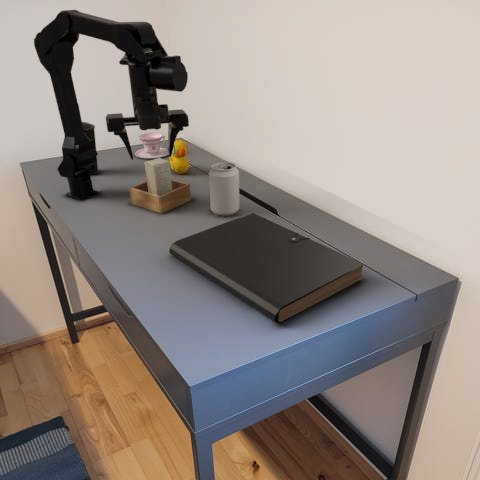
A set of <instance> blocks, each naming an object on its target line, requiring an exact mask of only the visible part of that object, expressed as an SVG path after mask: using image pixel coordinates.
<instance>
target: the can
mask: <svg viewBox="0 0 480 480" xmlns="http://www.w3.org/2000/svg"><path fill="white" fill-rule="evenodd" d="M210 167H211V169H210V170H209V171H208V182H209V183H208V184H209V206H210V211H211V212H213V213H214V214H215V215H217V216H223V217H227V216H232V215H234V214H236V213H237V212H238V211H239V210H240V171H239V169H237V165H236V163H233V162H229V161H220V162H215V163H213V164H211V166H210Z"/></svg>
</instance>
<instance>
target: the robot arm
mask: <svg viewBox="0 0 480 480" xmlns="http://www.w3.org/2000/svg"><path fill="white" fill-rule="evenodd" d="M80 35H82V36H87V37H90V38H93V39H97V40H100V41H105V42H108V43H111V44H112V45H114V47H115V48H116V49H117V50H119V51H121V52H123V53H124V55H123V56H122V58H121V59H119V61H118V63H119V65H121V66H122V65H123V66H127V69H128V77H129V85H130V92H131V99H132V100H131V102H132V109H133V116H126V117H124V115H123V113H121V112H119V113H107V114H106V116H105V122H106V123H105V124H106V130H107V133H113V135H114V136H119V138H120V139H121V141H122V143H123V144H124V146H125V148H126V151H127V153H128V155H129V157H130V159H131V161H133V160H134V154H133V150H132V146H131V143H130V140H129V139H130V138H129V135H128V132H127V128H126V127H133V126H135V127H136V126H138V128H139V130H140V131H147V130H156V131H157V130H161V128H162V125H163V124H167V149H168V151H169V155H168V156H169V158H170V157H171V155H172V151H173V147H174V143H175V141H176V140H177V137H178V135H179V132H181V131H184V128H187V127H189V126H190V121H189V114H188V113H186V111H185V110H184V109H169V106H168V104H167V103H164V104H163V103H162V104H159V99H158V90H159V91H160V90H161V91H171V92H179V93H180V92H183V91H185V89H186V87H187V84H188V80H189V78H188V71H187V68H186V66H185V64H184V63H183V62H182V58H181V57H182V56H180V55H168V53H167V51H166V49H165V47H164V46H163V45H162V43H161V41H160V40H159V38H158V37H157V35H156V32H155V29H154V28H153V24H151V23H150V22H148V21H116V20H112V19H108V18H104V17H101V16H96V15H92V14H89V13H85V12H82V11H79V10H77V9H67V10H65V9H64V10H61V11H59V13H57V15H56V16H55V17H54V19H53V20H52V21H50V22H49V23H48V24H46V25H45V26H44V27H42V29H41V31H40V32H37V34H35V37H34V38H33V45H34V49H35V52H36V55H37V57H38V60H39V62H40V64H41V65H42V66H43V68H44V69H45V70H46V72H47V73H48V74H49V77H50V81H51V84H52V89H53V93H54V97H55V101H56V105H57V109H58V113H59V118H60V120H61V122H60V123H61V126H62V130H63V133H64V138H63V141H62V145H61V152H62V153H61V154H62V160H61V162H60V163H59V164H58V167H57V170H56V171H57V172H58V174H59V176H60V177H61V178H65V179H67V183H68V188H69V192H67V193H65V196H66V197H69V198H72V199H75V200H77V201H82V200H85V199H87V198H91V197H93V196H95V195H98V194H99V191H98V190H95V189H94V185H93V181H92V178H91V175H90V173H89V171H92V170H94V169H95V162H96V161H97V162H98V156H99V153H98V151H97V146H96V147H95V143H96V141H95V142H94V140H90V139H89V138H88V137H87V136H86V135H85V133H84V129H83V125H82V122H83V121H82V116H80V115H81V110H80V106H79V107H78V104H79V103H78V99H77V93H76V89H75V85H74V81H73V76H72V69H73V66H74V61H75V53H74V46H75V45H76V44H77V43H78V41H79V40H80ZM79 110H80V111H79Z"/></svg>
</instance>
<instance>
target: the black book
mask: <svg viewBox="0 0 480 480" xmlns="http://www.w3.org/2000/svg"><path fill="white" fill-rule="evenodd" d="M169 254H170V255H171V256H173V257H174V258H176V259H177V260H179V261H180V262H182V263H183V264H184V265H186V266H188V267H190V268H191V269H193V270H195V272H197V273H199V274H201V275H202V276H204V277H205V278H206V279H208V280H210V281H211V282H213V283H214V284H216V285H217V286H219V287H221V288H222V289H224V290H225V291H227V292H228V293H230V294H231V295H233V296H234V297H236V298H237V299H239V300H240V301H242V302H244V303H245V304H247V305H248V306H249V307H251V308H253V309H254V310H255V311H257V312H259V313H260V314H262V315H264V316H265V317H267V319H269V320H271V321H273V323H276V324H282V323H284V322H287V321H289V320H290V319H293V318H294V317H296V316H298V315H299V314H301V313H303V312H305V311H307V310H309V309H311V308H312V307H314V306H316V305H318V304H320V303H322V302H324V301H325V300H327V299H329V298H331V297H333V296H334V295H337V294H339V293H340V292H342V291H344V290H347V289H348V288H350V287H352V286H354V285H355V284H357V283H359V282H361V281H362V280H363V279H362V275H363V271H364V266H365V264H364V263H363V262H361V261H358V260H357V259H355V258H352V257H350V256H348V255H346V254H344V253H341V252H339V251H337V250H334V249H332V248H330V247H328V246H326V245H324V244H321V243H319V242H317V241H316V240H313V239H311V238H310V237H306V236H304V235H302V234H300V233H299V232H295V231H293V230H291V229H289V228H287V227H285V226H282V225H280V224H279V223H276V222H274V221H272V220H270V219H267V218H265V217H263V216H261V215H259V214H257V213H254V212H253V213H250V214H247V215H245V216H242V217H237V218H235V219H231V220H229V221H226V222H224V223H223V222H222V223H221V224H218V225H216V226H213V227H210V228H207V229H205V230H202V231H199V232H196V233H194V234H191V235H189V236H186V237H182V238H181V239H178V240H175V241H174V242H173V243H172V244H171V245H170V246H169Z"/></svg>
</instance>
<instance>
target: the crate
mask: <svg viewBox="0 0 480 480" xmlns="http://www.w3.org/2000/svg"><path fill="white" fill-rule="evenodd" d="M171 184H172V191H170V192H168V193H166V194H163V195H161V196H159V195H156V194H152V193H149V191H148V184H147V180H146V181H143V182H141V183H137V184H135V185H133V186H131V187H128V189H129V197H130V203H131V205H134V206H136V207H140V208H143V209H146V210H148V211H152V212H155V213H158V214H161V215H162V214H164V213H165V214H166V213H168V212H169V211H171V210H173V209H176V208H178V207H179V206H182V205H184V204H187V203H188V202H191V201H192V194H191V184H190V183H188V182H183V181H180V180H176V179H173V178H171Z"/></svg>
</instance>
